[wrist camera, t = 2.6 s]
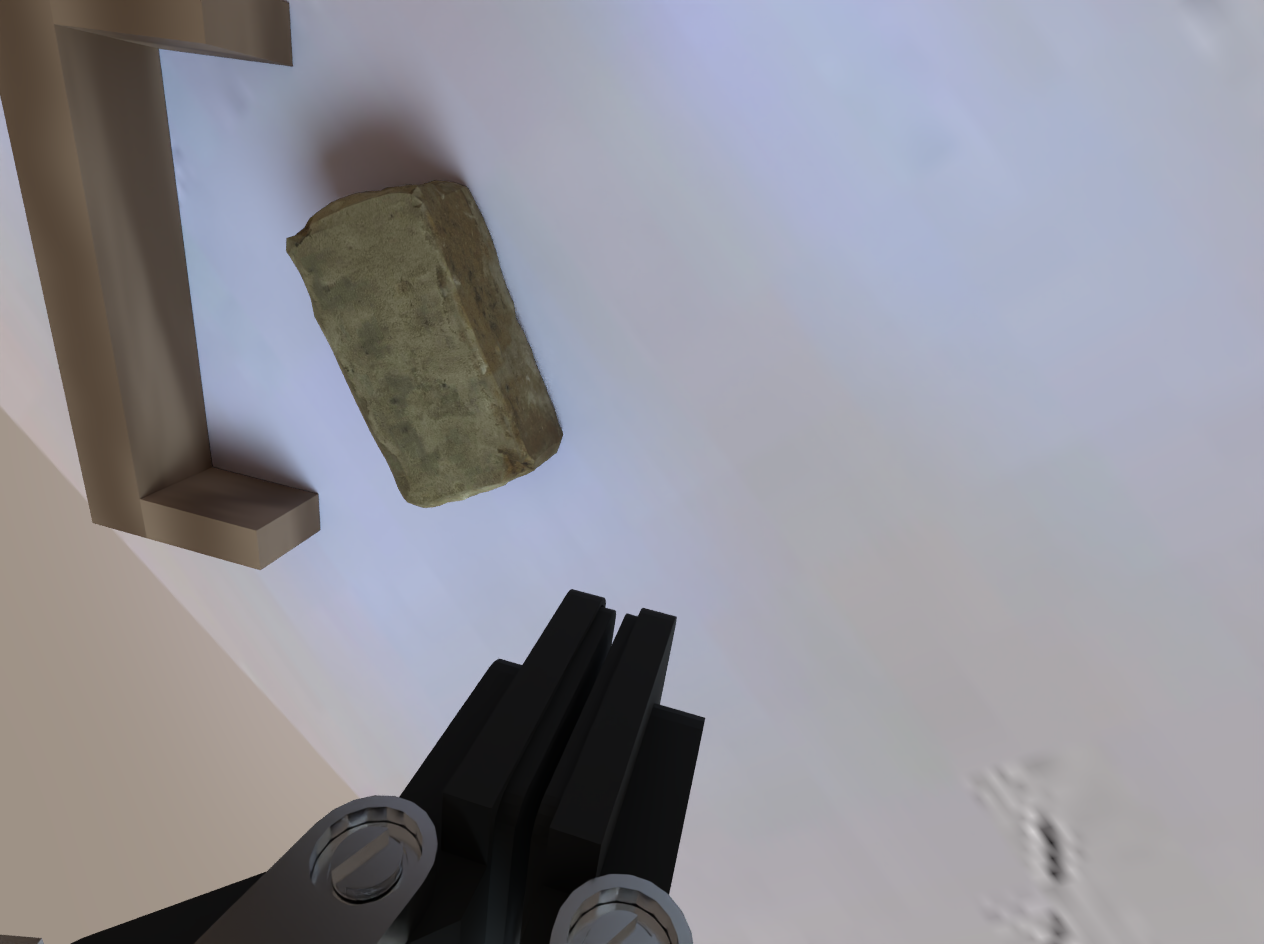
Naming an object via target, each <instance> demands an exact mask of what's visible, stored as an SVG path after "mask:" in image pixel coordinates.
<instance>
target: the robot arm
mask: <svg viewBox="0 0 1264 944" xmlns="http://www.w3.org/2000/svg"><path fill="white" fill-rule="evenodd" d="M605 606H606V600H605V598H603V597H600V596H596V595H592V594H588V593H584V592H581V591H577V590H573V589H571V590H570V591H569V592H568V593H567V595H566V596H565V598H564V599H563V601H562V603H561V604H560V606H559V607H558V609H557V611H556V612H555V614H554V615H553V617H552V619H551V620H550V622H549V623H548V625H547V627H546V628H545V630H544V631H543V633H542V635H541V636H540V638H539V639H538V641H537V643H536V644H535V646H534V647H533V649H532V651H531V652H530V654H529V655H528V657H527V659H526V660H525V662H524V663H523V665H520V664H516V663H513V662H509V661H506V660H502V659H498V660H496V661H494V663H493V664H492V665H491V666H490V667H489V669H488V670H487V672H486V673H485V674H484V676H483V677H482V679H481V680H480V682H479V683H478V684H477V686H476V687H475V689H474V690H473V692H472V693H471V695H470V696H469V697H468V699H467V700H466V702H465V703H464V705H463V706H462V708H461V709H460V710H459V712H458V713H457V715H456V716H455V718H454V719H453V720H452V722H451V723H450V725H449V726H448V728H447V729H446V731H445V732H444V733H443V735H442V736H441V738H440V739H439V741H438V742H437V744H436V745H435V746H434V748H433V749H432V751H431V752H430V754H429V755H428V756H427V758H426V759H425V761H424V762H423V764H422V765H421V767H420V768H419V769H418V771H417V772H416V774H415V775H414V777H413V778H412V779H411V781H410V782H409V784H408V785H407V787H406V788H405V790H404V791H403V792H402V794H401V795H400V797H396V796H376V795H375V796H370V797H365V798H361V799H356V800H353V801H351V802H348V803H347V804H344V805H342V806H340V807H338V808H336V809H334V810H332V811H331V812H330V813H329V814H327V815H326V816H325V817H323V818H322V819H321V820H319V821H318V822H317V823H316V824H315V825H314V826H313V827H312V828H311V829H310V830H309V831H307V833H306V834H304V835H303V836H302V837H301V838H300V839H299V840H298V841H297V842H296V843H295V844H294V845H293V846H292V847H291V848H290V849H289V850H288V851H287V852H286V853H285V854H284V855H283V856H282V857H281V858H280V859H279V860H278V861H277V862H276V863H275V864H274V865H273V866H272V867H271V868H270V869H269V870H268V871H267V872H264V873H261V874H258V875H256V876H253V877H250V878H248V879H245V880H242V881H239V882H236V883H233V884H231V885H228V886H225V887H222V888H220V889H217V890H214V891H211V892H209V893H206V894H203V895H200V896H198V897H195V898H192V899H189V900H186V901H184V902H181V903H178V904H175V905H173V906H170V907H167V908H164V909H161V910H159V911H156V912H153V913H150V914H148V915H145V916H142V917H139V918H137V919H134V920H131V921H129V922H126V923H123V924H120V925H117V926H115V927H112V928H109V929H106V930H103V931H101V932H98V933H95V934H92V935H90V936H87V937H84V938H82V939H80V940H78V941H75V942H73V943H71V944H693V940H692V933H691V930H690V928H689V926H688V923H687V921H686V919H685V917H684V914H683V912H682V911H681V909H680V908H679V907H678V906H677V904H676V903H675V902H674V901H673V900H672V898H671V897H670V896H669V892H670V887H671V882H672V878H673V873H674V868H675V863H676V858H677V853H678V848H679V843H680V839H681V834H682V829H683V824H684V819H685V814H686V809H687V804H688V800H689V795H690V790H691V785H692V780H693V775H694V770H695V766H696V761H697V756H698V751H699V746H700V741H701V736H702V731H703V726H704V721H705V718H704V717H700V716H697V715H694V714H690V713H687V712H683V711H680V710H676V709H673V708H669V707H666V706H662V705H660V701H661V696H662V691H663V686H664V681H665V676H666V671H667V666H668V661H669V656H670V651H671V646H672V641H673V636H674V631H675V625H676V619H677V617H676V616H672V615H668V614H664V613H660V612H657V611H653V610H649V609H645V608H642V609H641V611H640V613H639V615H638V616H634V615H631V614H626V615H625V617H624V619H623V621H622V624H621V626H620V628H619V630H618V632H617V635H616V637H615V639H614V641H613V644H612V638H613V632H614V625H615V619H616V611H615V610H612V609H608V608H605ZM611 645H612V646H611ZM0 944H44V943H43V940H42V938H33V937H21V936H9V935H0Z"/></svg>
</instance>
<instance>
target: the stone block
mask: <svg viewBox="0 0 1264 944" xmlns="http://www.w3.org/2000/svg"><path fill="white" fill-rule="evenodd" d="M286 252H287V253H288V255H289V256H290V258H291V259H292V261H293V263H294V264H295V266H296V267H297V269H298V271H299V272H300V274H301V276H302V279H303V281H304V283H305V286H306V288H307V290H308V293H309V295H310V298H311V302H312V307H313V312H314V316H315V318H316V320H317V322H318V324H319V326H320V328H321V330H322V331H323V333H324V335H325V337H326V339H327V341H328V343H329V345H330V347H331V349H332V350H333V353H334V355H335V357H336V360H337V362H338V364H339V366H340V369H341V371H342V373H343V375H344V377H345V379H346V382H347V384H348V386H349V388H350V390H351V392H352V395H353V397H354V399H355V401H356V403H357V405H358V407H359V409H360V411H361V413H362V416H363V418H364V420H365V422H366V424H367V426H368V428H369V430H370V432H371V434H372V436H373V438H374V439H375V441H376V443H377V445H378V447H379V449H380V450H381V452H382V454H383V456H384V457H385V459H386V461H387V463H388V465H389V467H390V470H391V472H392V474H393V476H394V479H395V481H396V484H397V487H398V489H399V491H400V492H401V494H402V496H403V498H404V499H405V500H406V501H407V502H408V503H411V504H413V505H416V506H419V507H422V508H430V507H436V506H440V505H443V504H445V503H447V502H455V501H461V500H465V499H467V498H469V497H471V496H474V495H477V494H479V493H482V492H488V491H490V490H493V489H495V488H498V487H501V486H503V485H506V484H507V483H508V482H509V481H511V480H513V479H515V478H518V477H521V476H524V475H526V474H528V473H530V472H532V471H534V470H535V469H536V468H537V467H539V466H540V465H541V464H542V463H544V462H545V461H547V460H548V459H549V458H551V457H552V456H553V455H554V454H556V453H557V451H558V448H559V446H560V443H561V440H562V437H563V431H562V429H561V428H560V426H559V423H558V420H557V416H556V412H555V409H554V407H553V404H552V402H551V400H550V397H549V395H548V392H547V390H546V387H545V385H544V382H543V379H542V377H541V375H540V373H539V371H538V368H537V366H536V363H535V360H534V356H533V353H532V349H531V347H530V346H529V344H528V342H527V339H526V337H525V334H524V332H523V330H522V329H521V327H520V325H519V323H518V322H517V320H516V315H515V308H514V302H513V301H512V299H511V297H510V294H509V292H508V289H507V287H506V284H505V281H504V278H503V275H502V272H501V269H500V265H499V261H498V257H497V253H496V250H495V247H494V244H493V242H492V239H491V236H490V233H489V231H488V229H487V226H486V224H485V221H484V219H483V217H482V215H481V213H480V211H479V209H478V207H477V205H476V203H475V201H474V199H473V197H472V195H471V193H470V191H469V189H468V188H467V187H466V186H463V185H460V184H458V183H455V182H447V181H437V180H435V181H431V182H428V183H425V184H419V185H405V186H401V187H400V186H398V187H389V188H385V189H383V190H381V191H366V192H363V193H355V194H352V195H349V196H347V197H344V198H341V199H338V200H336V201H334V202H331V203H330V204H328V205H327V206H326V207H324V208H323V209H321V210H320V211H318V212H317V213H316V214H314V215H313V216H312V217H311V218H310V219H309V220H308V222H307V224H306V226H305V228H303V229H302V230H301V231H300V232H298V233H297V234H296V235H295V236H292V237H289V238H287V240H286Z"/></svg>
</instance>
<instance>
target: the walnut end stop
mask: <svg viewBox="0 0 1264 944" xmlns="http://www.w3.org/2000/svg"><path fill="white" fill-rule="evenodd" d="M158 49H165V50H173V51H180V52H188V53H195V54H203V55H210V56H218V57H225V58H233V59H240V60H248V61H255V62H263V63H270V64H278V65H285V66H293V64H292V47H291V30H290V14H289V3H287V2H284V1H282V0H0V96H1V101H2V105H3V110H4V115H5V119H6V124H7V129H8V133H9V138H10V142H11V147H12V152H13V156H14V161H15V166H16V170H17V175H18V179H19V184H20V189H21V193H22V198H23V203H24V207H25V212H26V216H27V221H28V226H29V230H30V235H31V240H32V244H33V249H34V253H35V258H36V263H37V267H38V272H39V277H40V281H41V286H42V290H43V295H44V300H45V304H46V309H47V314H48V318H49V323H50V327H51V332H52V337H53V341H54V346H55V351H56V355H57V360H58V364H59V369H60V374H61V378H62V383H63V388H64V392H65V397H66V401H67V406H68V411H69V415H70V420H71V425H72V429H73V434H74V438H75V443H76V448H77V452H78V457H79V462H80V466H81V471H82V476H83V480H84V485H85V489H86V494H87V499H88V503H89V508H90V513H91V517H92V522H93V523H95V524H99V525H102V526H106V527H109V528H113V529H116V530H120V531H123V532H127V533H130V534H134V535H138V536H141V537H145V538H148V539H152V540H155V541H159V542H162V543H166V544H169V545H173V546H177V547H180V548H184V549H187V550H191V551H194V552H198V553H201V554H205V555H209V556H212V557H216V558H219V559H223V560H226V561H230V562H233V563H237V564H240V565H244V566H248V567H251V568H255V569H258V570H262V569H263V568H265V567H266V566H267V565H269V564H270V563H272V562H273V561H275V560H276V559H278V558H279V557H281V556H282V555H284V554H285V553H287V552H288V551H290V550H291V549H293V548H294V547H296V546H297V545H299V544H300V543H302V542H303V541H305V540H306V539H308V538H309V537H311V536H312V535H314V534H315V533H317V532H318V531H320V516H319V499H318V494H316V493H312V492H308V491H304V490H300V489H296V488H292V487H288V486H284V485H280V484H276V483H272V482H269V481H265V480H261V479H257V478H253V477H249V476H245V475H241V474H237V473H233V472H229V471H225V470H222V469H218V468H214V467H212V461H211V454H210V446H209V438H208V430H207V422H206V415H205V407H204V399H203V391H202V384H201V376H200V368H199V360H198V353H197V345H196V337H195V329H194V322H193V314H192V306H191V298H190V291H189V283H188V275H187V267H186V260H185V252H184V244H183V236H182V229H181V221H180V213H179V205H178V198H177V190H176V182H175V174H174V167H173V159H172V151H171V143H170V136H169V128H168V120H167V112H166V105H165V97H164V89H163V81H162V73H161V66H160V58H159V50H158Z"/></svg>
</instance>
